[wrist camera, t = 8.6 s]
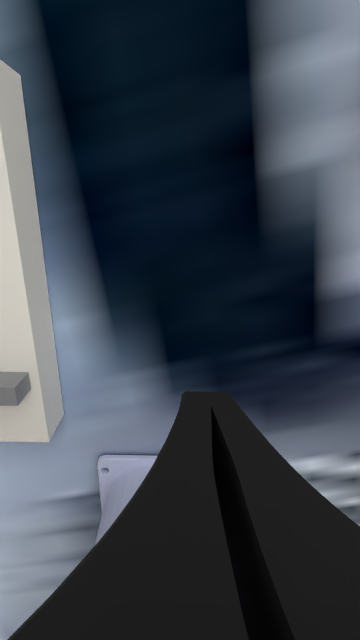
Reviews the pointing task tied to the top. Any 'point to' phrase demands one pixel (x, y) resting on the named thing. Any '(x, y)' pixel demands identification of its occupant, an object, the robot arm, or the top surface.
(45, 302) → the panel
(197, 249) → the top surface
